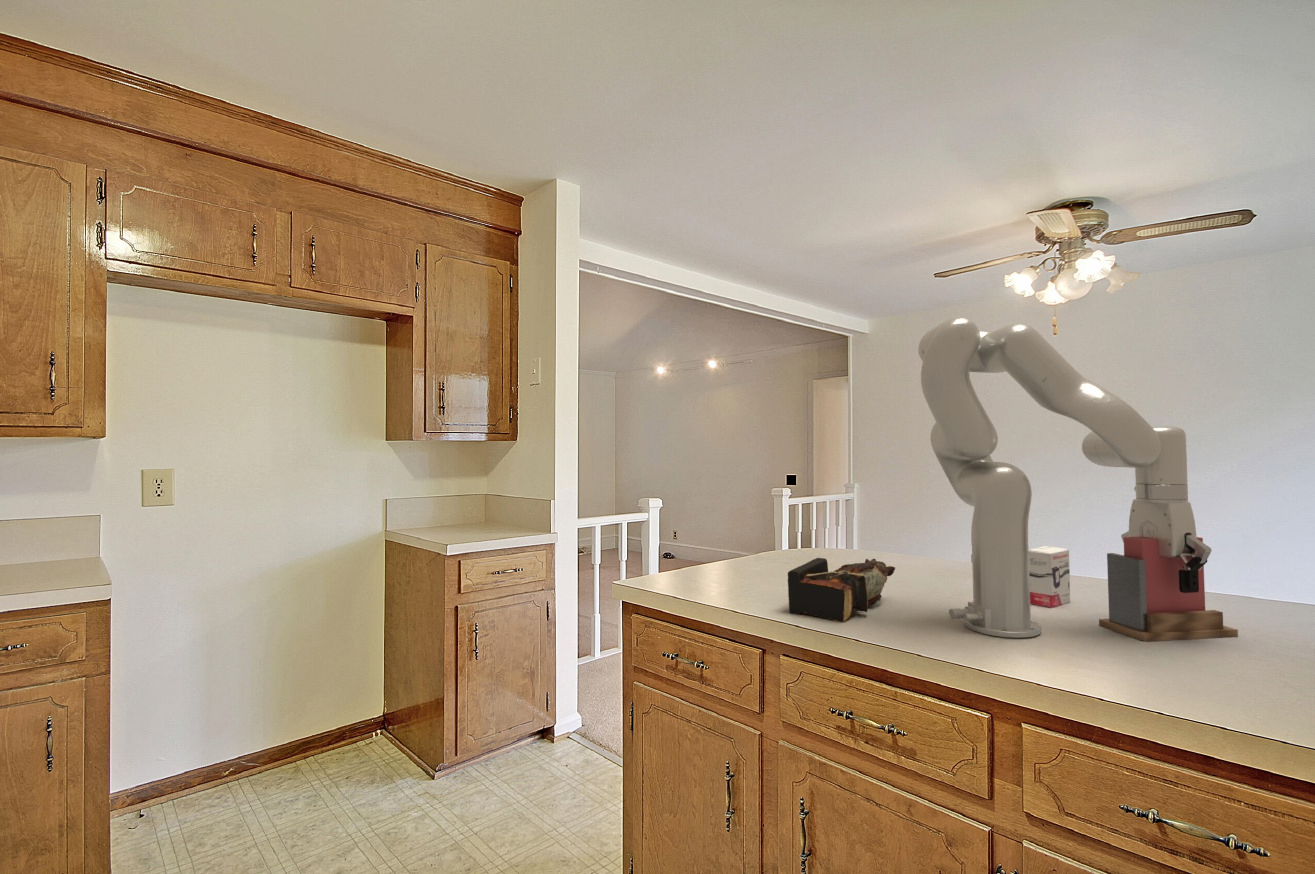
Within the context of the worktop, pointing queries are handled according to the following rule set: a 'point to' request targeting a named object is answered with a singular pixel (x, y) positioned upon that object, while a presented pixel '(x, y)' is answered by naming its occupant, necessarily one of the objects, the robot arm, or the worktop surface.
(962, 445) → the robot arm
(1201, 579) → the book
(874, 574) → the bookend
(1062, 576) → the ink box
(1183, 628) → the book rack
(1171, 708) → the worktop surface
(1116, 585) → the steel bookend
